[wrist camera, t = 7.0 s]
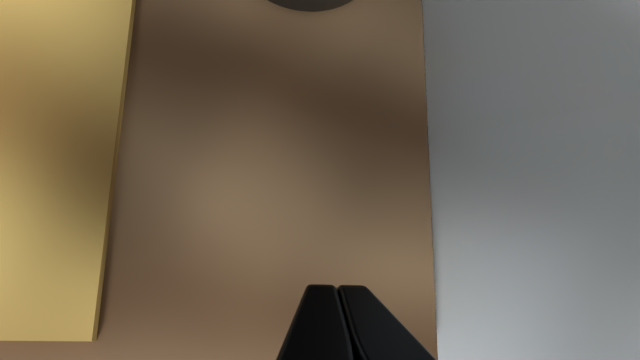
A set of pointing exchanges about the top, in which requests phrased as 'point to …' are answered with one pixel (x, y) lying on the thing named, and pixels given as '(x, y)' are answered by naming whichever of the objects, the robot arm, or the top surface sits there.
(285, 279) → the tuner board
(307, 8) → the peg
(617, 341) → the top surface
